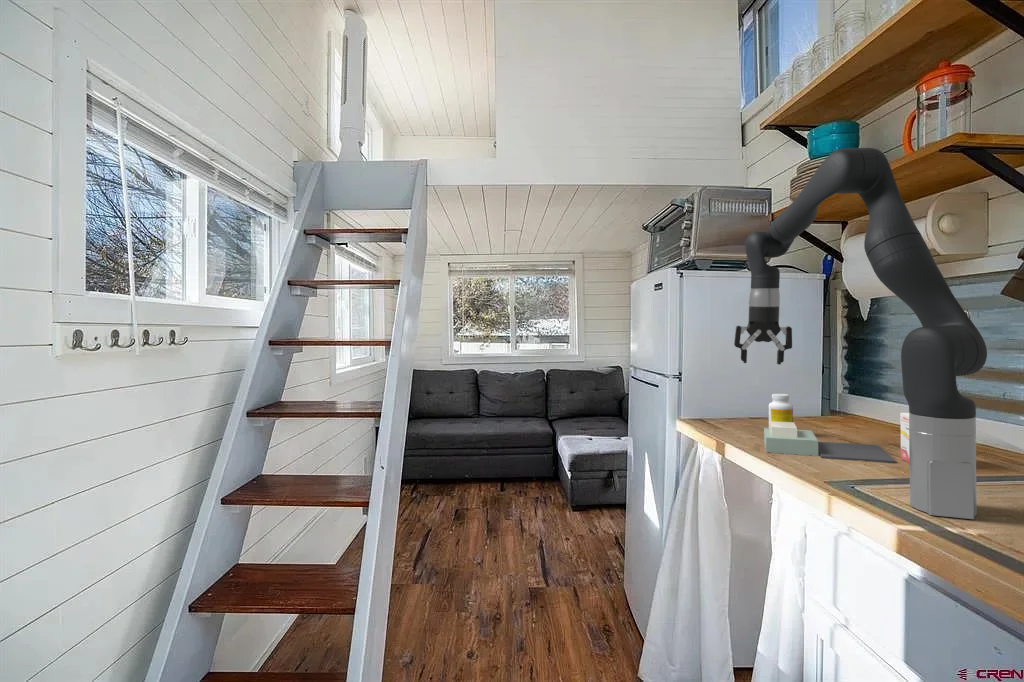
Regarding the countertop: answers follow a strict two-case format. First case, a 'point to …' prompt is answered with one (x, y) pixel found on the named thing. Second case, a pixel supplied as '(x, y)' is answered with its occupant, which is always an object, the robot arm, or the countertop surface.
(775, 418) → the supplement bottle
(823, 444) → the mat
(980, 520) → the countertop surface
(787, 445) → the block
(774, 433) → the tile
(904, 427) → the ink cartridge box
